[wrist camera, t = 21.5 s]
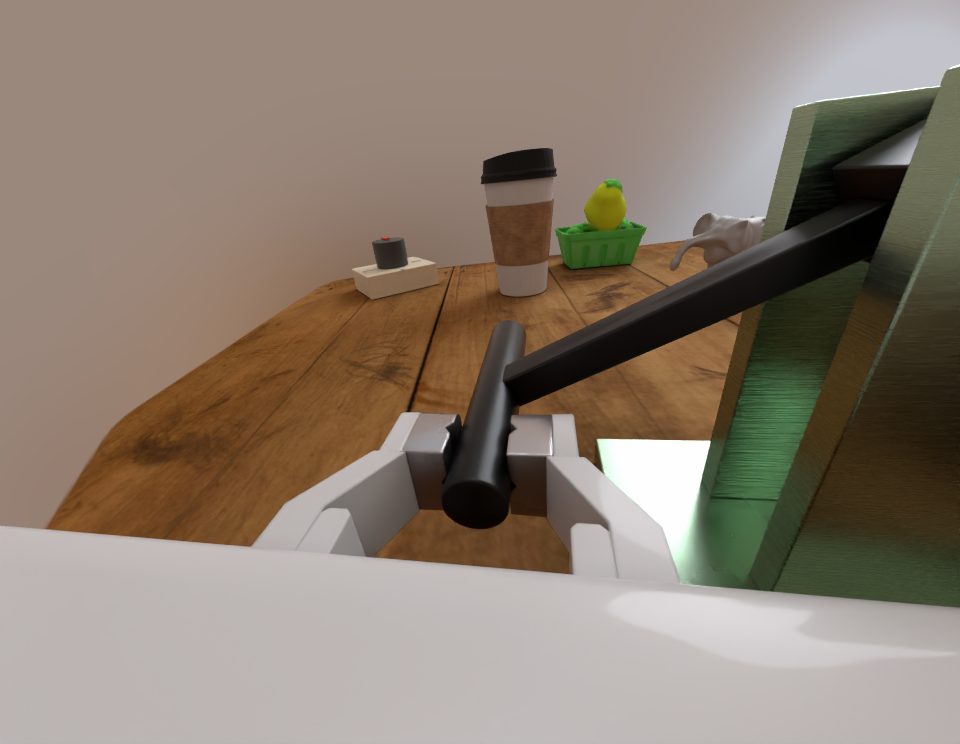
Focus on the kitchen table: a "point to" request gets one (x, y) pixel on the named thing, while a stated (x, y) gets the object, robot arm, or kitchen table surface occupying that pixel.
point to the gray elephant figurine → (722, 237)
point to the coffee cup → (520, 218)
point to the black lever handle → (665, 322)
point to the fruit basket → (601, 232)
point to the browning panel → (395, 278)
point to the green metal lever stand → (834, 391)
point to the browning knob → (390, 253)
